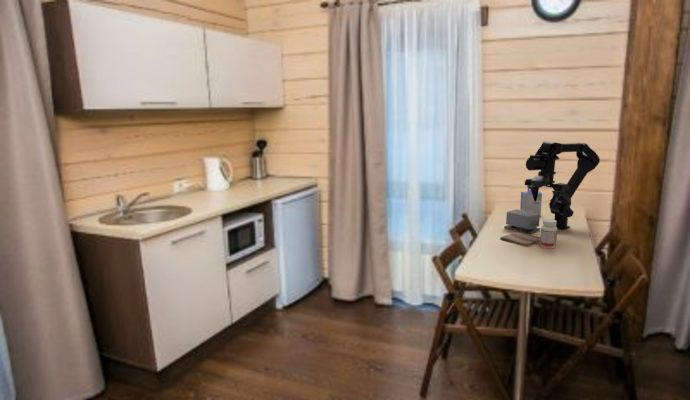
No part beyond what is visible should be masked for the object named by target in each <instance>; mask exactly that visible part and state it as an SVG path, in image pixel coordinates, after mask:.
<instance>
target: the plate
mask: <svg viewBox="0 0 690 400" xmlns="http://www.w3.org/2000/svg"><path fill="white" fill-rule="evenodd" d="M540 238H541V236H538V235H534V234H526V233H522V232H518V231H514V232H512V233H510V234H509V233H508V234H506V235H503V236H500V240H502V241H505V242H509V243H513V244H515V245H519V244H520V245H519V246H523V245H524V246H523V247H529V245H530V246H533V245H535V244H538V243H540ZM537 242H538V243H537ZM534 243H535V244H534ZM532 244H533V245H532Z"/></svg>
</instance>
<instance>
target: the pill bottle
mask: <svg viewBox="0 0 690 400" xmlns="http://www.w3.org/2000/svg"><path fill="white" fill-rule="evenodd" d="M556 223H557V221H556V220H554V219H552V218H544V219H543V221H542V226H541V227H540V237H541V238H540V242H539V246H540V247H541V248H544V249H555V248H556V247H557V237H558V228H557V227H556Z"/></svg>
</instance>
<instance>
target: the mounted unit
mask: <svg viewBox="0 0 690 400" xmlns="http://www.w3.org/2000/svg"><path fill="white" fill-rule="evenodd" d="M540 217H541V216H540V214H538V213H533V212H528V211H523V210H520V209H512V210H510V211H506V218H505V219H506V220H505V221H506V222H505V224H506V225H505V226H504V227H503V228H504V229H506V230H510V231H514V232H522V233H526V234H530V235H532V234H534V233H537V232H541V227H540V226H539V225H540ZM539 227H540V228H539Z"/></svg>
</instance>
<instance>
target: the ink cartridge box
mask: <svg viewBox="0 0 690 400" xmlns="http://www.w3.org/2000/svg"><path fill="white" fill-rule="evenodd" d="M542 200H543V193H542V192H541V191H538V196H537V200H536V201H534V199H533V195H532V192H531V190H530V189H529V188H528V187H527V191H520V209H519V210H523V211H528V212H533V213H538V214H540V217H541V216H542Z"/></svg>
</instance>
